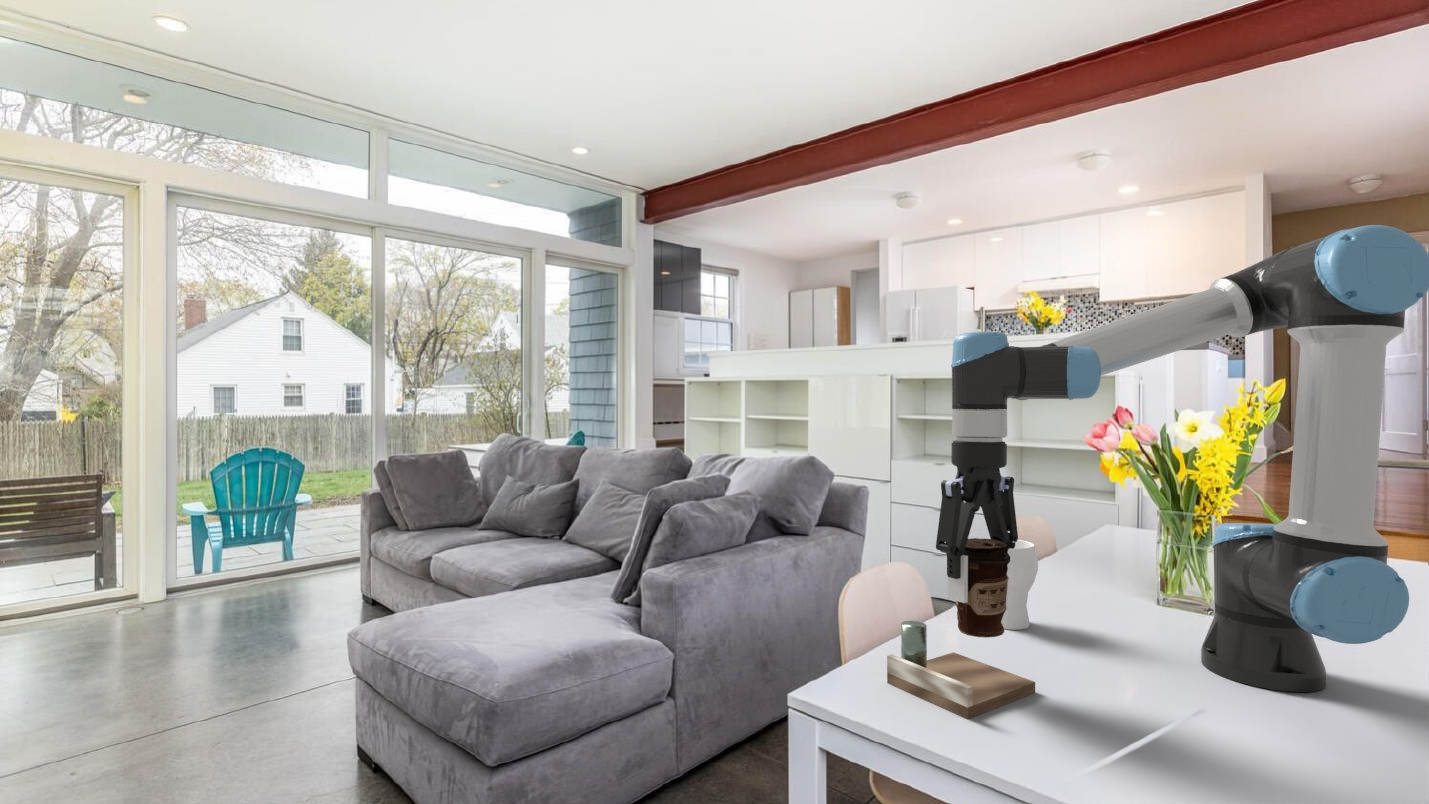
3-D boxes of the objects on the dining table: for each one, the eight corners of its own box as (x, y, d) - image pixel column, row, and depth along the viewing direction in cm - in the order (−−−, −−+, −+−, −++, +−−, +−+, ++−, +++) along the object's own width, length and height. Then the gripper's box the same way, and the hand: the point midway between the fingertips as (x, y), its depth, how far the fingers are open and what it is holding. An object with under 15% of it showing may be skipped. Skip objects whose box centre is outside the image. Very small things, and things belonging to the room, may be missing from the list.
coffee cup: (1027, 636, 98) (1026, 545, 98) (982, 646, 95) (981, 552, 95) (981, 618, 106) (979, 533, 106) (938, 627, 103) (936, 539, 103)
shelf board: (1035, 692, 99) (1035, 664, 99) (967, 718, 91) (967, 688, 91) (953, 661, 111) (953, 636, 111) (887, 682, 102) (887, 655, 102)
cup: (1030, 636, 122) (1030, 551, 122) (968, 625, 128) (968, 544, 128) (1044, 621, 130) (1043, 541, 130) (985, 611, 137) (985, 535, 137)
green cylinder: (931, 673, 102) (931, 625, 102) (915, 678, 100) (915, 630, 100) (912, 665, 105) (912, 619, 105) (896, 670, 103) (896, 623, 103)
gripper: (1000, 436, 110) (999, 580, 110) (908, 440, 98) (907, 600, 98) (1045, 438, 103) (1044, 591, 103) (952, 443, 92) (951, 614, 92)
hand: (977, 595), depth 101 cm, fingers closed on coffee cup, 8 cm apart
